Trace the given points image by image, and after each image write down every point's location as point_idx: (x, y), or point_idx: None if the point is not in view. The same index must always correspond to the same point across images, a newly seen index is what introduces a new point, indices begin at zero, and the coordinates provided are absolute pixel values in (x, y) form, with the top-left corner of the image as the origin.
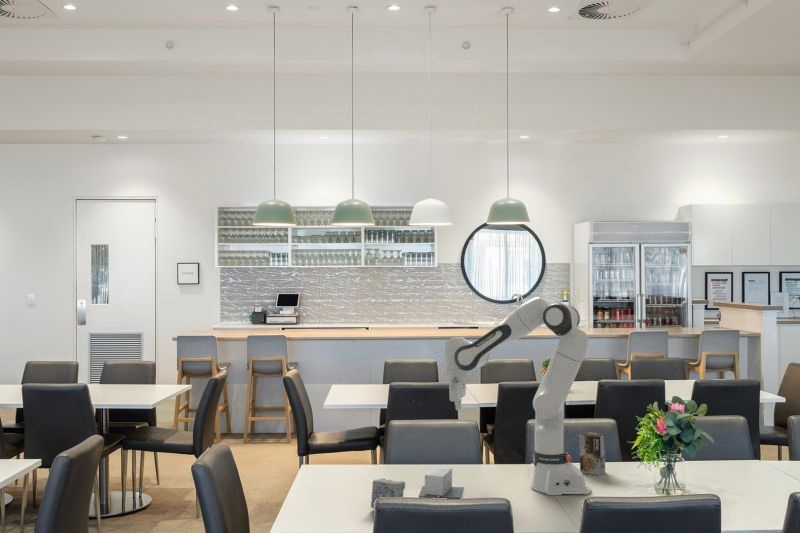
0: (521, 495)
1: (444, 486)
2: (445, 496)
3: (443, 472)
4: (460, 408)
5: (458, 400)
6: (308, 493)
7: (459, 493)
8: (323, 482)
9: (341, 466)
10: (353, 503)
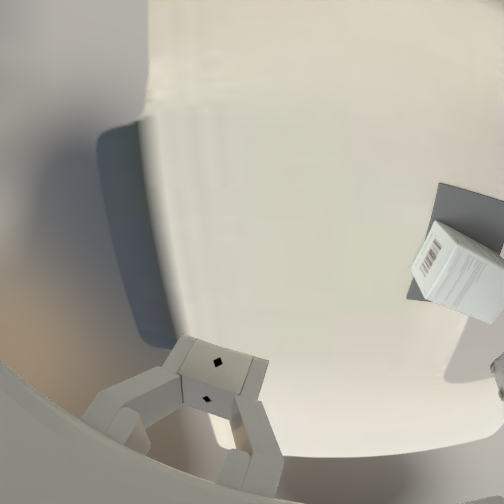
0: (492, 33)
1: (499, 257)
2: (499, 246)
3: (492, 275)
4: (222, 353)
5: (496, 498)
6: (386, 446)
7: (487, 205)
8: (330, 441)
9: (223, 421)
10: (460, 398)
